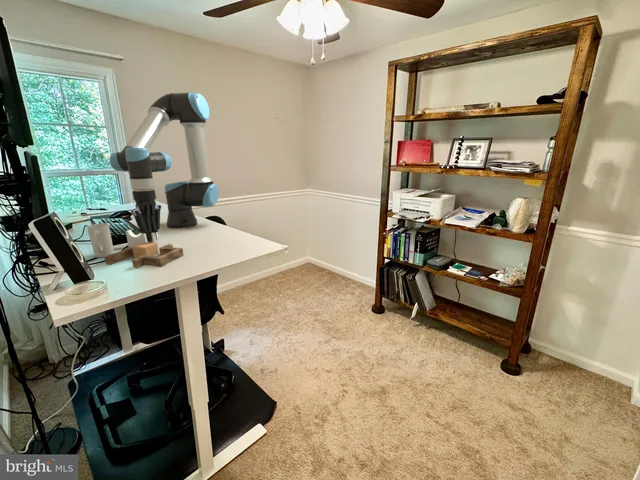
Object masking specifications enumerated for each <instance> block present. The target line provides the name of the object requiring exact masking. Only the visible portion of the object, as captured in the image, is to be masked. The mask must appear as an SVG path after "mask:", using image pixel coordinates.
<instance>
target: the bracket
mask: <svg viewBox="0 0 640 480" xmlns="http://www.w3.org/2000/svg"><path fill="white" fill-rule="evenodd" d="M125 235H126V239H127V245H128V248H129V247H132V246H134V245H137V244H140V243H142V242H148V241H147V238H146V234H145V233H141V232H140V233H138V234H135V233H133V231H132V229H127V230H126V231H125ZM156 235H157V239H158V238H159V231H158V232H156Z"/></svg>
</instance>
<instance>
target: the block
mask: <svg viewBox="0 0 640 480" xmlns="http://www.w3.org/2000/svg"><path fill="white" fill-rule="evenodd" d="M132 249H133V254H134V256H133V258H134V259H135V258H137V257H139V256H142V255H148V256H156V255H157V256H158V255H160V251H159V247H158V243H152V242H142V243H140V244H137V245H134V246H132Z"/></svg>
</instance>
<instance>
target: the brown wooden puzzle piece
mask: <svg viewBox="0 0 640 480" xmlns="http://www.w3.org/2000/svg"><path fill="white" fill-rule="evenodd" d="M173 246H174V245H173V244H171V243H170V244H169V243H168V244H166V245H163V246H161V247H158V251H159V256H158V255H157V256H156V255H154V256H148V255H142V256H139V257H137V258H135V257H134V254H133V249H132V247H129V246H128V247H127V248H124V249H121V250H119V251H117V252H116V251H115V252H114V253H113V254H111V255H108V256H105V257H103V259H104V261H105V265H106V266H112V265H115V264H116V263H119V262H122V261H124V260H126V259H129V258H131V257H134V258H132V259H131V263H132V267H133V268H134V269H140V268H141V267H144V266H149V267H159V268H163V267H164V266H166V265H168V264H169V263H171V262H173V261H176V260H178V259H179V258H181V257H184V251H183V250H184V249H183V248H182V247H173Z"/></svg>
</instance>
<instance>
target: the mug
mask: <svg viewBox="0 0 640 480" xmlns="http://www.w3.org/2000/svg"><path fill="white" fill-rule="evenodd" d="M86 227H87V228H86V229H87V232H88V236H89V239H90V242H91V243H90V244H91V246H92V251H93V253H94V257H95V258H104V257H105V256H108V255H111V254H113V253H115V251H114V246H113V239H112V235H111V229H110V224H109V223H105V222H103V223H102V222H101V223H95V224H90V225H87V226H86Z"/></svg>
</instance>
